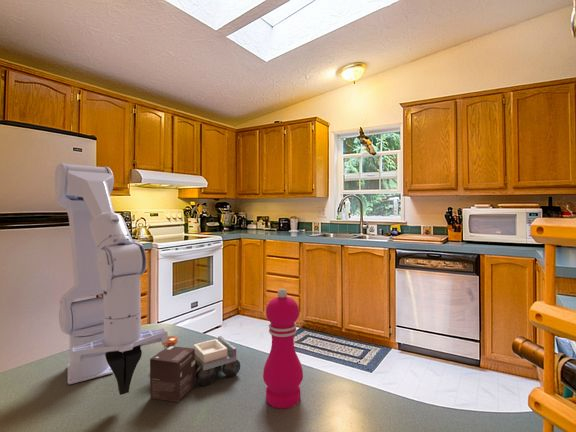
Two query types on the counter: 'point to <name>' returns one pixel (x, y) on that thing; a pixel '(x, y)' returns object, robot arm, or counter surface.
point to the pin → (170, 341)
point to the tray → (210, 350)
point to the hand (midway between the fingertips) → (123, 391)
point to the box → (172, 373)
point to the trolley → (228, 365)
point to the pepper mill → (282, 353)
